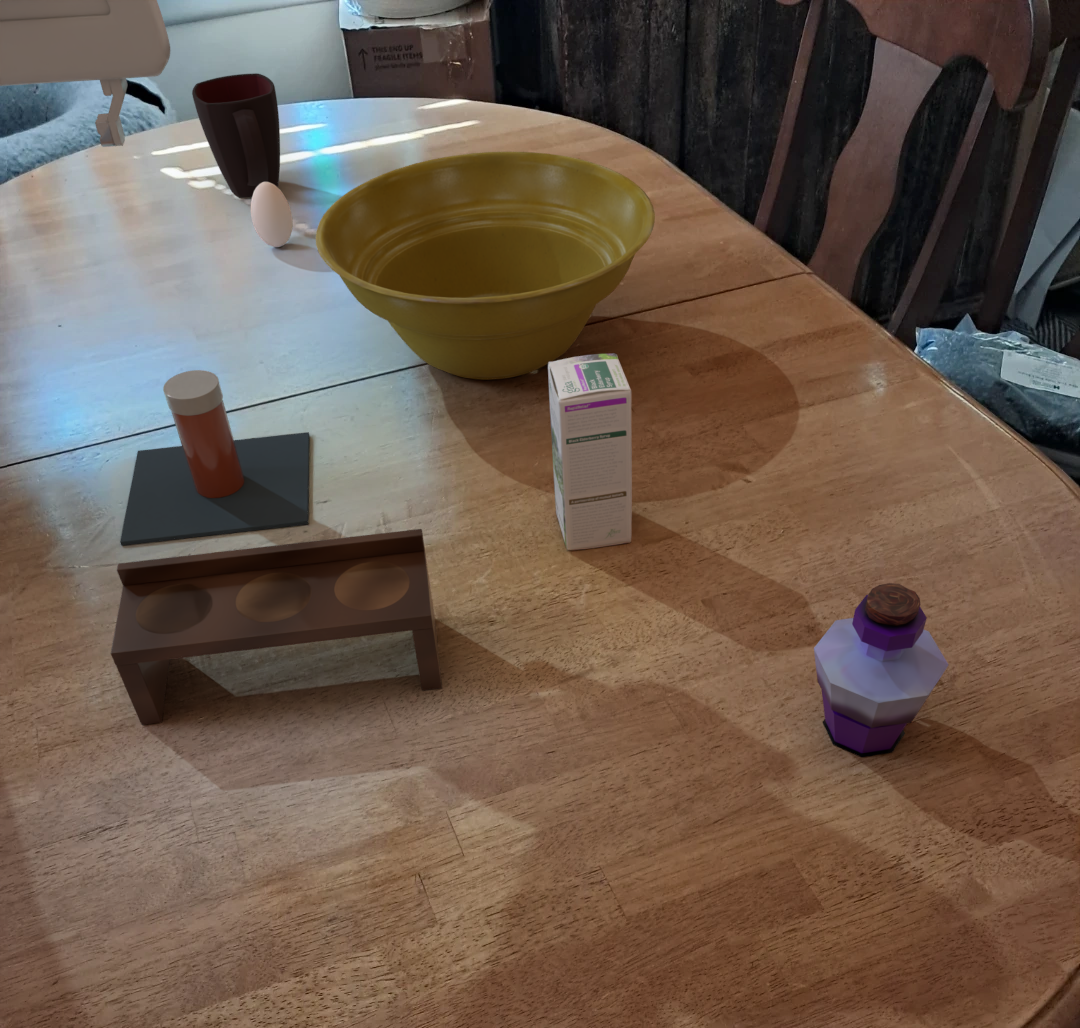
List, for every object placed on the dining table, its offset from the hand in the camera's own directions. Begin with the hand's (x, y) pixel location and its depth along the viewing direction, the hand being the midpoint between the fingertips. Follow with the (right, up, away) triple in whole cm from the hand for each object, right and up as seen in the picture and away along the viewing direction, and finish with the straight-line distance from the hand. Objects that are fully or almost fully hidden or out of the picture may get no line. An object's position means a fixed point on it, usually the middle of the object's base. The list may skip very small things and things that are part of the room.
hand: (47, 148), depth 83 cm
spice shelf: (+17, -38, +4) cm, 41 cm away
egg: (+4, +15, +54) cm, 56 cm away
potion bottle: (+58, -42, -3) cm, 72 cm away
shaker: (+7, -20, +20) cm, 29 cm away
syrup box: (+40, -25, +14) cm, 50 cm away
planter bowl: (+31, -3, +36) cm, 47 cm away
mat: (+7, -20, +20) cm, 30 cm away
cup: (-1, +26, +65) cm, 70 cm away
